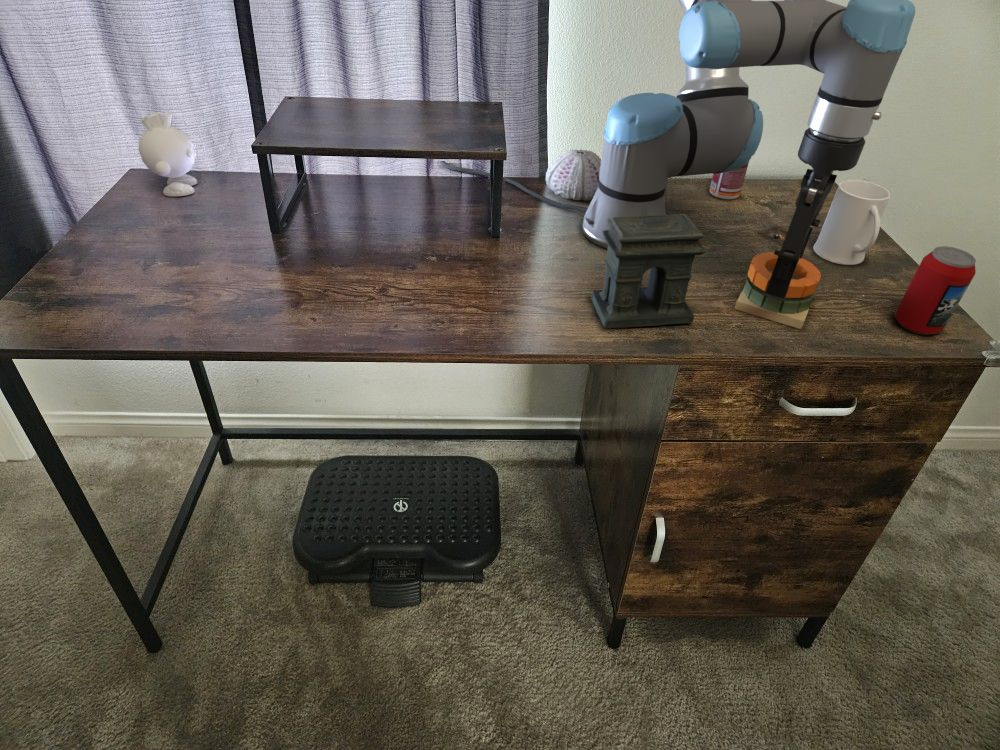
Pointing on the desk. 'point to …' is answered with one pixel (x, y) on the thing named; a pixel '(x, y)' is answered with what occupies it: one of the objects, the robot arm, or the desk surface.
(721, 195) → the pill bottle
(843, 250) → the mug
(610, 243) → the model
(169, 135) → the white cartoon figurine
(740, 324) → the desk surface
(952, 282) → the beverage can
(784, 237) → the diorama
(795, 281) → the orange ring
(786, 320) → the stacker
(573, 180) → the sea urchin shell
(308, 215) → the desk surface
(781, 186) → the desk surface
